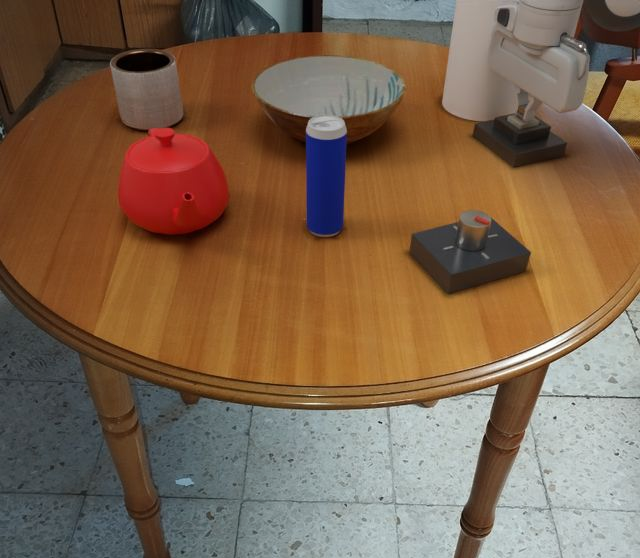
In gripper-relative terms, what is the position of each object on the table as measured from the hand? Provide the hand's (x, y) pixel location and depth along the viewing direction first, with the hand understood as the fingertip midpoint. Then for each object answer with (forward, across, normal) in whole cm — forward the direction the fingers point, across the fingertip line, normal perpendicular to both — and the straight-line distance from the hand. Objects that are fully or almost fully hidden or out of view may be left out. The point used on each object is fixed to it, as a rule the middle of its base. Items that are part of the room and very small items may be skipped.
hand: (523, 118), depth 109 cm
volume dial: (+2, -25, +26) cm, 36 cm away
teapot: (+5, +1, +58) cm, 58 cm away
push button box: (+5, 0, 0) cm, 5 cm away
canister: (+5, +16, -3) cm, 17 cm away
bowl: (+5, +17, +27) cm, 32 cm away
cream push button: (+2, 0, 0) cm, 2 cm away
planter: (+5, +34, +53) cm, 63 cm away
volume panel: (+5, -25, +26) cm, 36 cm away
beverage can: (+5, -10, +40) cm, 42 cm away
